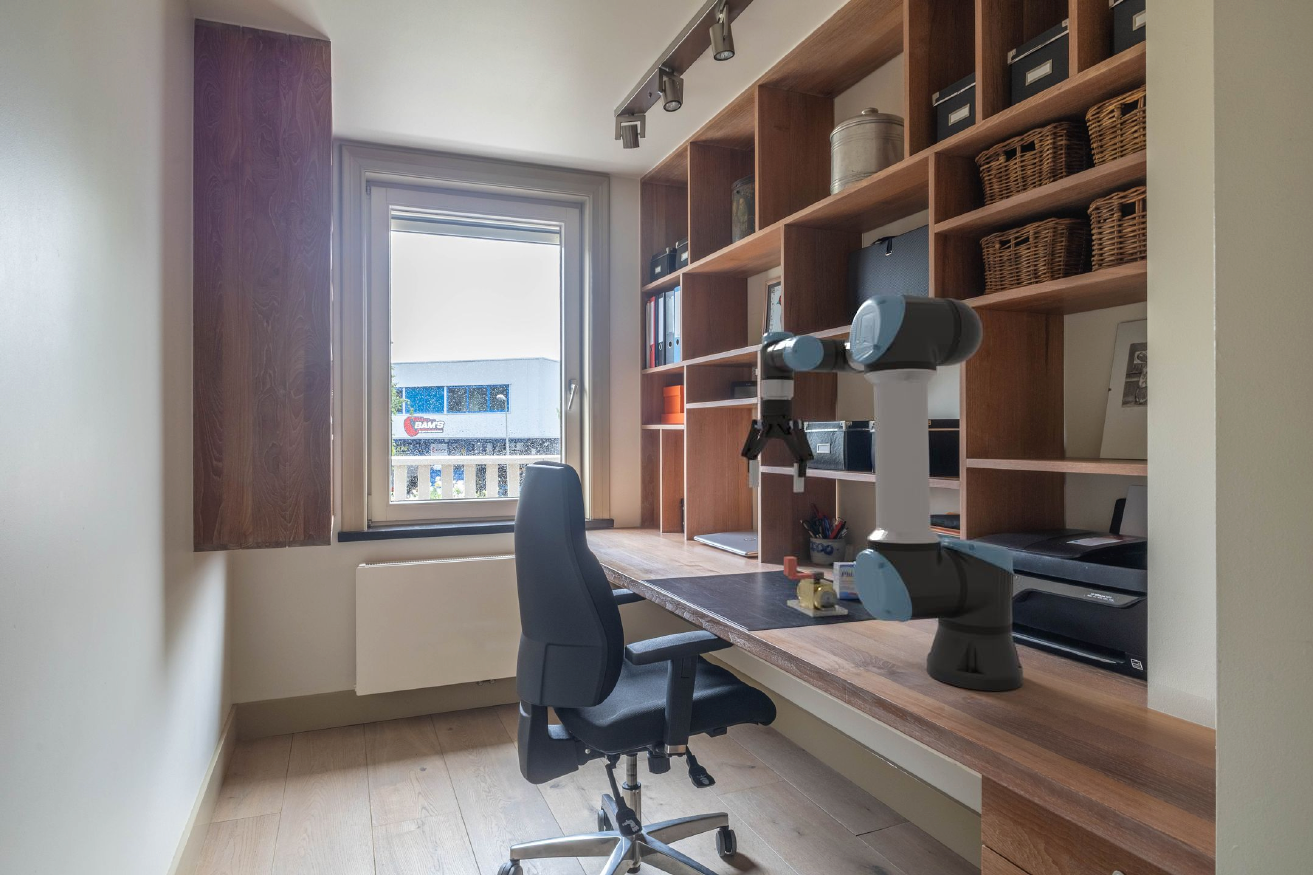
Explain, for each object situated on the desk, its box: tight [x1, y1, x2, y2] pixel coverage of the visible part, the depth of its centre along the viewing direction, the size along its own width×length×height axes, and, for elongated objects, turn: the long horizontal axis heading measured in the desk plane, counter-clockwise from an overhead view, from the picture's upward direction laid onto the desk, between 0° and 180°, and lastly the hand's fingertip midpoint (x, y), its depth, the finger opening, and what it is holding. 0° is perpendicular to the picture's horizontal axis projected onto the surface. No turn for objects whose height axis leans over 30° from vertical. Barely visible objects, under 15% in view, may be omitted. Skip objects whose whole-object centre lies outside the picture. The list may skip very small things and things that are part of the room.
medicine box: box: [833, 561, 860, 600], centre depth 184 cm, size 8×4×9 cm, turn 95°
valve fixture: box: [786, 578, 849, 618], centre depth 171 cm, size 12×9×7 cm
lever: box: [783, 556, 825, 580], centre depth 170 cm, size 3×10×5 cm, turn 108°
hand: (775, 489), depth 172 cm, fingers open, 13 cm apart
